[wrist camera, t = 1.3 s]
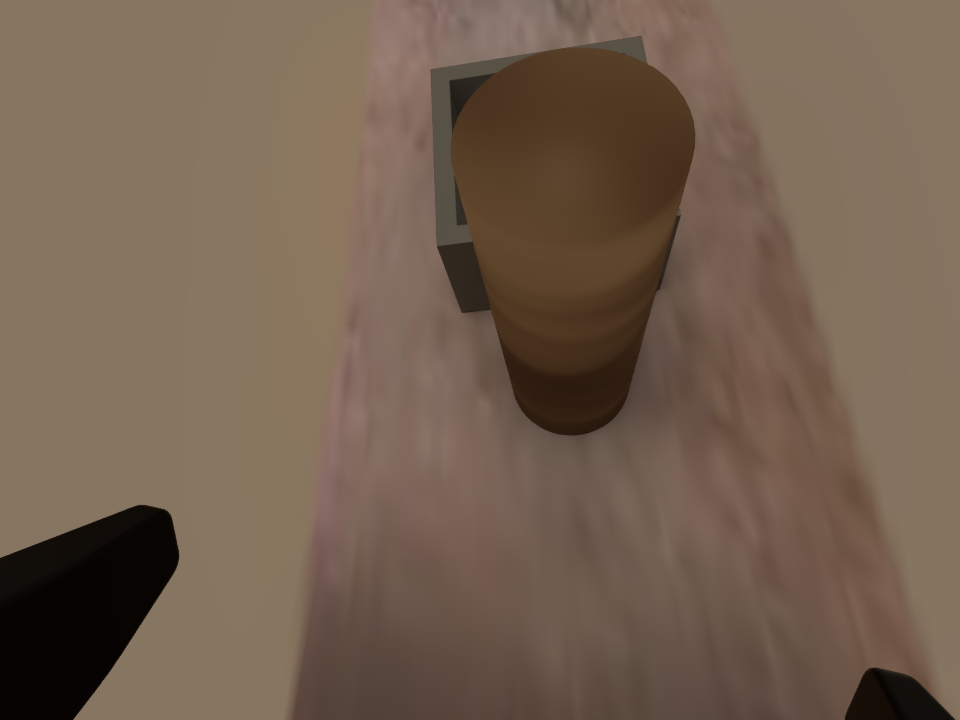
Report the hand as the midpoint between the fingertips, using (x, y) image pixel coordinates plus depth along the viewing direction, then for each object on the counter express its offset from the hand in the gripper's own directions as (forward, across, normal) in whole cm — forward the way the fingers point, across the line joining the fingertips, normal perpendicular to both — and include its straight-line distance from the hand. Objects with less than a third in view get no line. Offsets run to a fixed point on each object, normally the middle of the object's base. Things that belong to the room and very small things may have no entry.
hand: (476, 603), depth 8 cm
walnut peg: (+15, 0, +4) cm, 16 cm away
